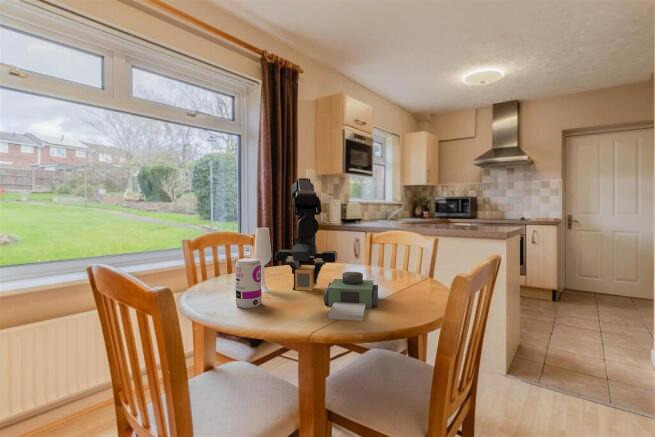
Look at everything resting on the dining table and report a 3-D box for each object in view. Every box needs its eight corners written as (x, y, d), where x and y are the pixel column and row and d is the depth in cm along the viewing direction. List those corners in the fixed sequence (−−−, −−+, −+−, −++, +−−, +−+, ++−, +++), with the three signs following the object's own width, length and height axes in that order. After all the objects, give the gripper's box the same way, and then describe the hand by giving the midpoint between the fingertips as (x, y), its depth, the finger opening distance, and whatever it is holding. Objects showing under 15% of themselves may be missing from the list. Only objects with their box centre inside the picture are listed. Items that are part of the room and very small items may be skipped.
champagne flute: (273, 288, 131) (272, 227, 130) (270, 292, 124) (270, 228, 123) (255, 288, 131) (255, 227, 130) (252, 293, 124) (251, 228, 123)
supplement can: (266, 302, 112) (265, 258, 111) (252, 310, 104) (252, 262, 104) (245, 300, 115) (244, 257, 114) (230, 307, 107) (230, 261, 106)
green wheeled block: (315, 318, 97) (315, 287, 96) (330, 294, 121) (330, 270, 121) (375, 321, 94) (375, 290, 93) (378, 297, 118) (378, 272, 118)
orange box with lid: (295, 290, 100) (294, 270, 100) (301, 283, 108) (301, 265, 108) (311, 290, 99) (311, 270, 99) (317, 284, 107) (317, 265, 107)
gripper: (268, 235, 96) (268, 288, 97) (331, 236, 93) (331, 291, 94) (280, 232, 107) (280, 280, 108) (337, 233, 104) (337, 282, 105)
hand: (306, 283), depth 103 cm, fingers closed on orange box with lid, 5 cm apart
